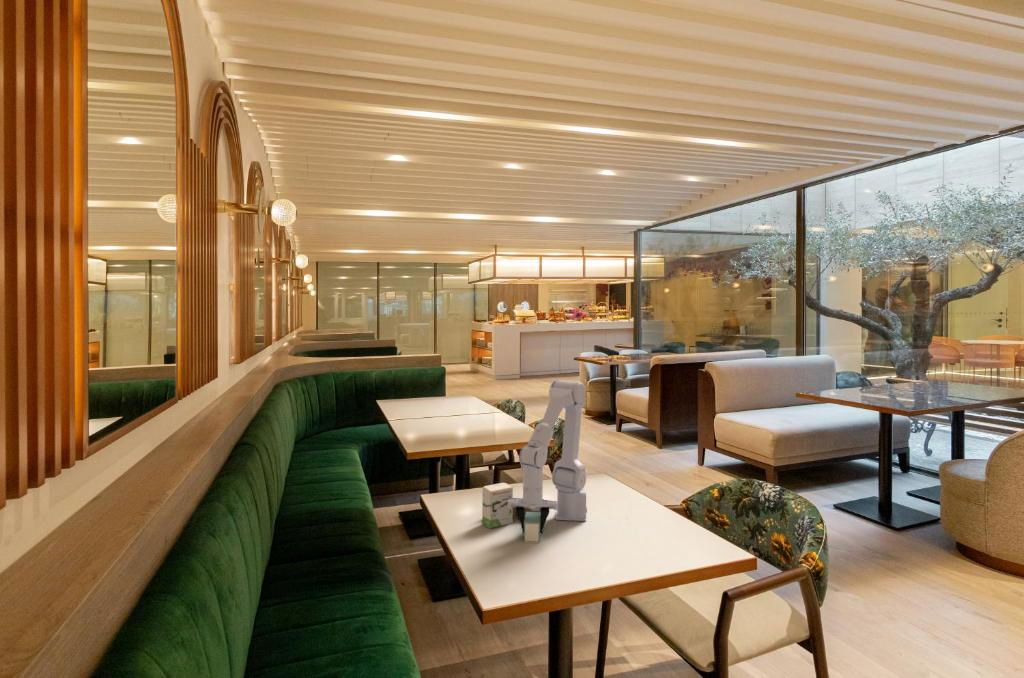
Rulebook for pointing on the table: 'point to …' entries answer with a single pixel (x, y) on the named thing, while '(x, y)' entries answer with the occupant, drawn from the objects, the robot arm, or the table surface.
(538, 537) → the book
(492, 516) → the ink box
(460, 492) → the table surface
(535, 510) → the bookend
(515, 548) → the table surface
